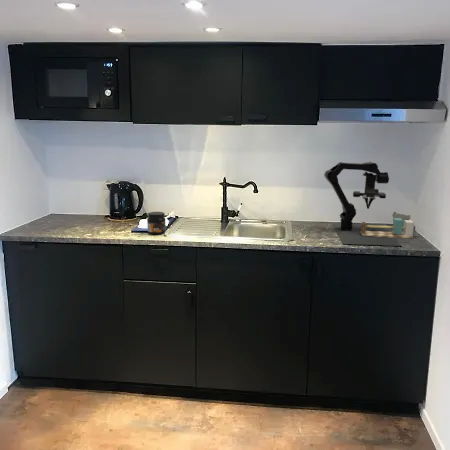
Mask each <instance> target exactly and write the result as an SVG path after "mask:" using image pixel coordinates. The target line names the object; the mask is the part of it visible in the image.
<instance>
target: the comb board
mask: <svg viewBox="0 0 450 450" xmlns="http://www.w3.org/2000/svg"><path fill="white" fill-rule="evenodd" d="M366 225H367V223H366V221H361V226H360V227H361V229H360V231H359V232H360V235H361V236H362V237H365V236H373V237H372V238H386V239H387V238H388V239H389V238H391V239H414V235H413V236H405V235H404V234H403V231H402V235H396V234H394V233H393V232H392V231H378V230H374V231H372V230H367V227H366Z"/></svg>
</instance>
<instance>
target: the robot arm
mask: <svg viewBox="0 0 450 450" xmlns="http://www.w3.org/2000/svg"><path fill="white" fill-rule="evenodd" d="M344 170H350V171H351V170H355V171H364V173H362V176H364V177H365V182H364V183H365V184H364V192H361V191H358V190H357V191H356V190H354V191H353V192H352V197H353V198H360V197H362V199H363V200H364V202H365V205H366V208H367V210H369V209H370V207H371V204H372V202H373V201H374V200H376V199H377V198H376V197H378V198H380V199H386V197H387V195H386V193H385V192H379V189H378V188H376V183H377V184H389V182H390V181H389V180H390V176H389V172H386V171H383V172H381V171H380V170H379V166H378V164H377V163H376V162H372V161H368V162H362V163H360V162H359V163H358V162H357V163H356V162H338V163H336V165H334V166H332V167H331V168H330V169H328V170H325V171H324V174H323V175H324V176H323V177H324V178H325V179H326V180H327V182H328V183H329V185H331V187H332V189H333V190H334V193H335V195H336V196H337V199H338V200H339V202H340V205H341V207H342V212H341V213H340V214H339V218H340V225H339V231H352V229H353V219H354V218H355V216H356V215H357V209H356V208H355V205H354V204H353V203H351V202H349V201H348V199H347V196H346V194H345V193H344V191H343V189H342V188H341V185H340V184H339V178H338V176H339V175H340V173H342V171H344Z"/></svg>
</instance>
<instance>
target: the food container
mask: <svg viewBox="0 0 450 450" xmlns="http://www.w3.org/2000/svg"><path fill="white" fill-rule="evenodd" d="M391 217H392V220H393V219H394V218H401V219H402V220H403V223H404V220H411V219H412V218H411V214H409V215H408V214H407V215H406V214H402V213H397V212H396V211H393V213H392V215H391ZM402 227H403V225H402ZM402 232H403V229H402Z"/></svg>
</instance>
